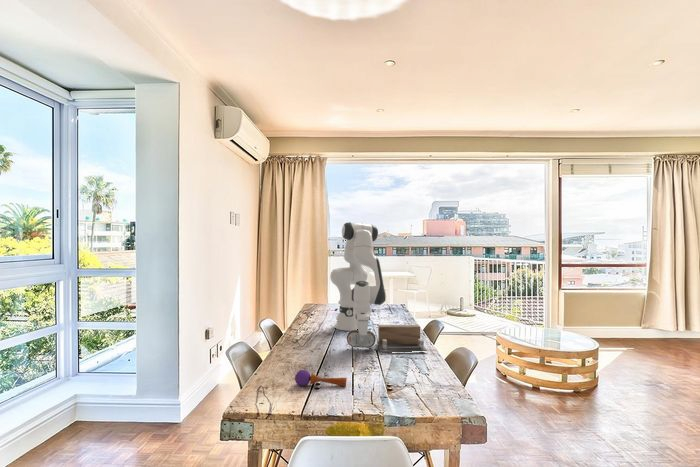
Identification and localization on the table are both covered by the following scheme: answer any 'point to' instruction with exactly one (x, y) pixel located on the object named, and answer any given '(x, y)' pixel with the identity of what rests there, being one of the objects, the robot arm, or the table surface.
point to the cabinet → (399, 338)
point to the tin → (354, 339)
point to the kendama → (316, 379)
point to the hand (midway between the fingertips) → (361, 339)
